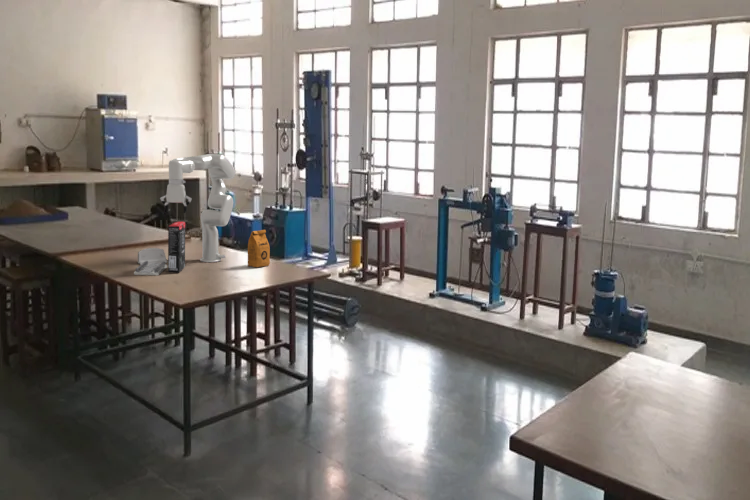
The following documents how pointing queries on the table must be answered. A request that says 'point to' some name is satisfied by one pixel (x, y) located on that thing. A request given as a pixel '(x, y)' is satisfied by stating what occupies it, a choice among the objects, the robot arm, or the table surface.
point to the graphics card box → (176, 247)
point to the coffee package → (258, 249)
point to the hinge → (151, 256)
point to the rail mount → (150, 268)
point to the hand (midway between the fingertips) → (176, 212)
